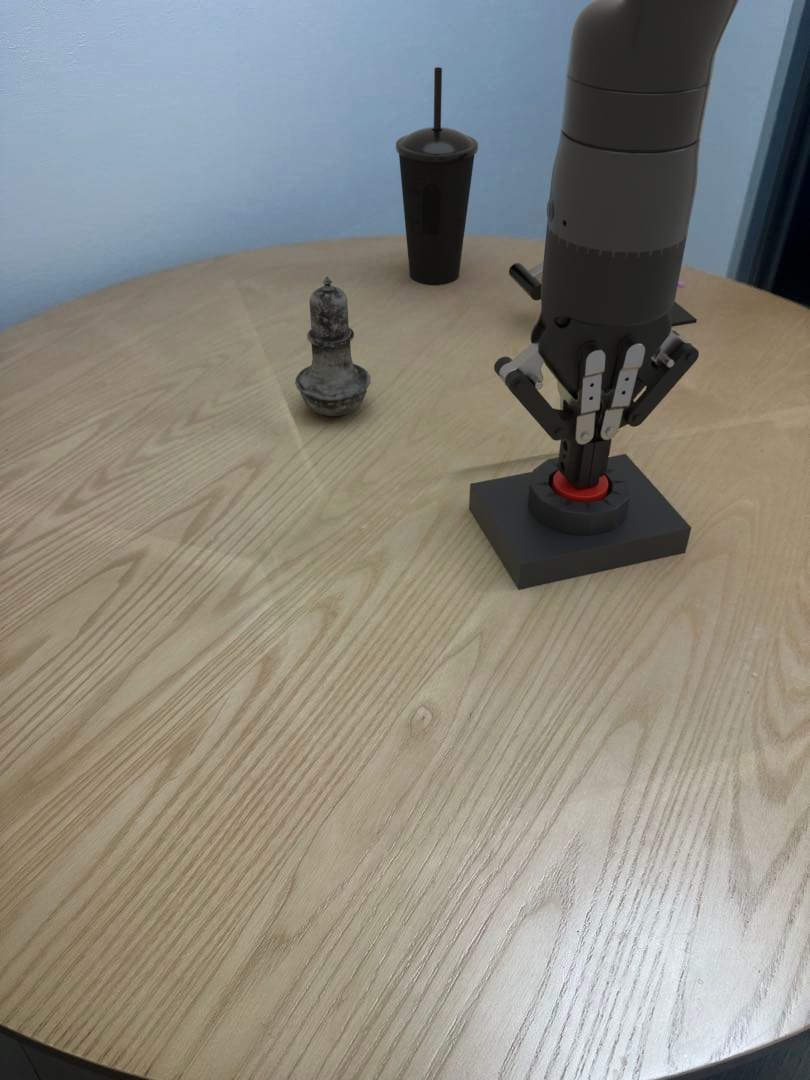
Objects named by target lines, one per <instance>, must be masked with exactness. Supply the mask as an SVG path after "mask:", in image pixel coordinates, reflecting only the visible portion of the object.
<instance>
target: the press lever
mask: <svg viewBox="0 0 810 1080" xmlns="http://www.w3.org/2000/svg"><path fill="white" fill-rule="evenodd" d="M542 272H543V262H541V263H539V264H538V265H536V266H534V267H533V268H531V269H530V270H528V269H527V268H526V267H525V266H524V265H523V264H522V263H520V262H516V263H513V264H512V265H511V266H509V270H508V275H509V277H510V278H511V279H512V280H513V281H514V282H515V283H516V284H517V285H518V286H519V287H520V288H521V289H522V290H523V291H524V292H525V293H526V294H527V295H528V296H529V298H531V299H532V300H533V301H537V302H538V301H541V283H542Z"/></svg>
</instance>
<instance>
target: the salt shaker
mask: <svg viewBox="0 0 810 1080" xmlns="http://www.w3.org/2000/svg"><path fill="white" fill-rule="evenodd" d="M332 283H333V281H332V279H331V278H330V277H329V276H327V275H326V277H325V278H324V279H323V281H322V284H324V285H323V286H320V287H319V288H317V289H315V290H314V291H313V292H312V293H311V295H310V296H309V311H310V312H309V313H310V315H309V316H310V328H311V329H309V330H308V332H307V333H306V339H307V341H308V342H310V344H311V358H312V360H311V364H310V365H309V366H306V367H304V368H303V369H302V370H301V371H299V372H298V374H297V375H296V377H295V381H294V384H295V387H296V389H297V390H298V391H299V393H300V396H301V398H302V400H303V402H304V403H305V405H306V406H307V407H308V408H309V409H310V410H311V411H313V412H314V413H317V414H318V415H322V416H327V417H342V416H346V415H348V414H350V413H352V412H354V411H355V410H356V409H357V408H358V407H360V405H362V403H363V401H364V399H365V397H366V395H367V391H368V388H369V386H370V384H371V375H370V374H369V372H368V371H367V369H365V368H364V367H363V366H361V365H359V364H356V363H353V359H352V351H351V350H352V349H351V348H352V347H351V341H352V340H353V339H354V337H355V332H354V330H353V329H352V328H351V327H350V326H349V305H348V296H347V294H346V292H345V291H344V290H343V289H341V288H339V287H337V286H333V285H331V284H332Z"/></svg>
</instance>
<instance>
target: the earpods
mask: <svg viewBox="0 0 810 1080" xmlns="http://www.w3.org/2000/svg"><path fill="white" fill-rule="evenodd" d="M684 287H685V283H684V282H683V281H682V280H679V281H678V286H677V289H679V288H684Z"/></svg>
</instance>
